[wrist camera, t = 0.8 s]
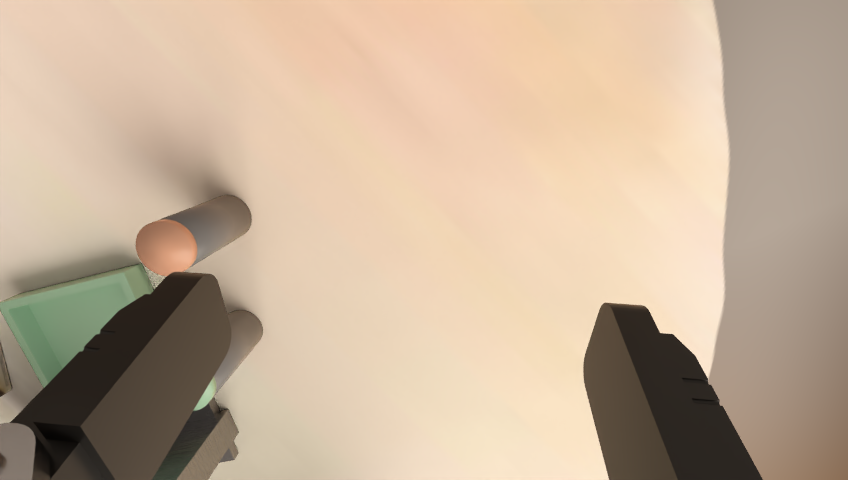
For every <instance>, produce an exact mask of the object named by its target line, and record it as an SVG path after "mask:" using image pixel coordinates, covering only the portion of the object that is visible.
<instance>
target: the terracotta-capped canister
mask: <svg viewBox="0 0 848 480" xmlns="http://www.w3.org/2000/svg"><path fill="white" fill-rule="evenodd" d="M251 220H252V219H251V213H250V210H249V208H248V206H247V205H246V204H245V203H244V202H243V201H242V200H241V199H239V198H237V197H235V196H231V195H224V196H220V197H218V198H215V199H212V200H210V201H207V202H205V203H202V204H199V205H197V206H194V207H192V208H189V209H186V210H184V211H181V212H179V213H176V214H173V215H171V216H168V217H166V218H163V219H160V220H158V221H155V222H152V223H150V224H148V225H146V226H144V227H143V228H142V229H141V230H140V231H139V233H138V235H137V238H136V250H137V254H138V256H139V258H140V260H141V261H142V263H143V264H144V265H145V266H146V267H147V268H148V269H150V270H151V271H153V272H154V273H157V274H159V275H163V276H168V275H169V274H171V273H172V272H183V271H185V270H186V269H188V268H190V267H191V266H193V265H195V264H196V263H198V262H199V261H201V260H203V259H204V258H206V257H208V256H209V255H211V254H213V253H214V252H216V251H217V250H219V249H221V248H222V247H224V246H226V245H227V244H229V243H231V242H232V241H234V240H235V239H237V238H239V237H240V236H242V235H244V234H245V233H246V232H247V231H248V230H249V228H250V226H251Z"/></svg>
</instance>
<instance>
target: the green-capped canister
mask: <svg viewBox="0 0 848 480" xmlns="http://www.w3.org/2000/svg"><path fill="white" fill-rule="evenodd" d="M228 319H229V322H230V325H231V343H230V347H229V350H228V353H227V355H226V357H225V358H224V360H223V362H222V363H221V365H220V367H219V369H218V370H217V372H216V374H215V375H214V377H213V379H212V380H211V382H210V384H209V385H208V387H207V389H206V390H205V392H204V394H203V395H202V397H201V399H200V400H199V402H198V404H197V405H196V407H195V409H194V410H193V411H196V410H199V409H202V408H203V407H205V406H206V405H207V404H208V403H209V401H210V400H211V399H212V398H213V397H214V395H215V394H216V393H217V392H218V390H219V389H220V388H221V387H222V386H223V384H224V383H225V382H226V381H227V380H228V378H229V377H230V376H231V375H232V373H233V372H234V371H235V370H236V369H237V367H238V366H239V365H240V364H241V362H242V361H243V360H244V359H245V358H246V356H247V355H248V354H249V353H250V352H251V350H252V349H253V348H254V347H255V345H256V344H257V343H258V342H259V341H260V339H261V337H262V334H263V327H262V324H261V322H260V320H259V319H258V318H257V317H256V316H255V315H254V314H252V313H250V312H248V311H244V310H236V311H233V312H231V313H229V314H228Z"/></svg>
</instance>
